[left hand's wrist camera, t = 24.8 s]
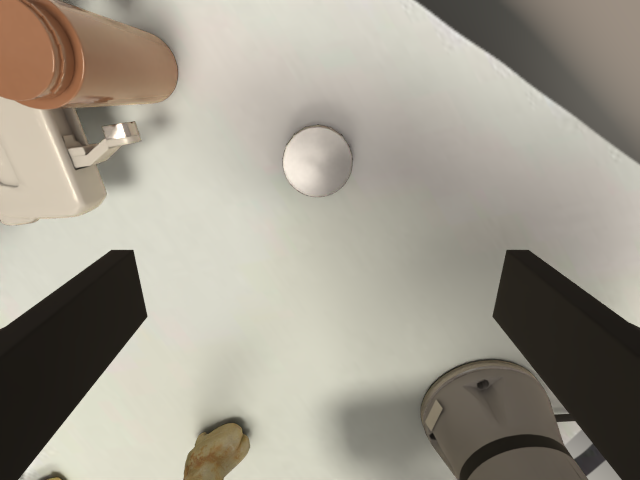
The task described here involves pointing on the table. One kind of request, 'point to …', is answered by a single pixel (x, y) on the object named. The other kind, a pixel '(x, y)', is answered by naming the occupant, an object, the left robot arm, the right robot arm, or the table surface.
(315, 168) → the lid
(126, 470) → the table surface
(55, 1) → the jar
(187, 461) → the sculpture
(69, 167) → the right robot arm
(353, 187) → the table surface
